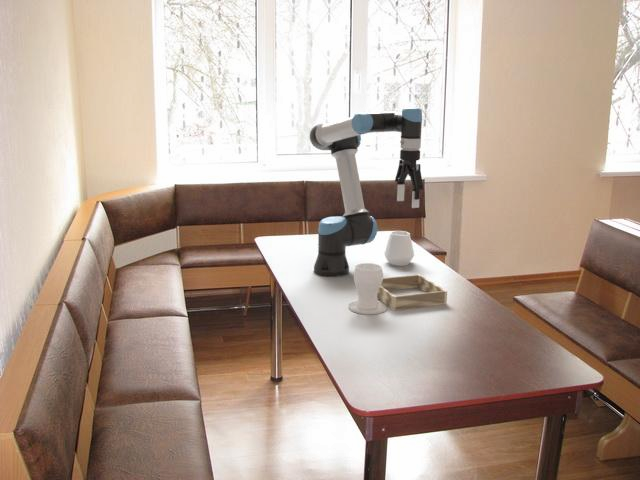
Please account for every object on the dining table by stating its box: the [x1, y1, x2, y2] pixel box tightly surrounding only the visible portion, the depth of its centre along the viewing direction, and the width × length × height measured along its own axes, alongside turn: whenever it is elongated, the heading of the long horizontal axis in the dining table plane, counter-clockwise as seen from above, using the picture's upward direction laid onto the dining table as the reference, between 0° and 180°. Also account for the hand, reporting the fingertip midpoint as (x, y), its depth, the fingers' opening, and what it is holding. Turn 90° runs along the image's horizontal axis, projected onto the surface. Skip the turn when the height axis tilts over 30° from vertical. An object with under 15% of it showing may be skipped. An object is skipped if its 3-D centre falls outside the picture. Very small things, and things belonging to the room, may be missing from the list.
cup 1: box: [353, 262, 384, 310], centre depth 242 cm, size 11×11×15 cm
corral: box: [377, 274, 448, 311], centre depth 255 cm, size 22×22×5 cm
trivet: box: [348, 300, 388, 316], centre depth 244 cm, size 14×14×1 cm
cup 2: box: [383, 230, 415, 267], centre depth 300 cm, size 13×13×14 cm
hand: (407, 204), depth 258 cm, fingers open, 13 cm apart
